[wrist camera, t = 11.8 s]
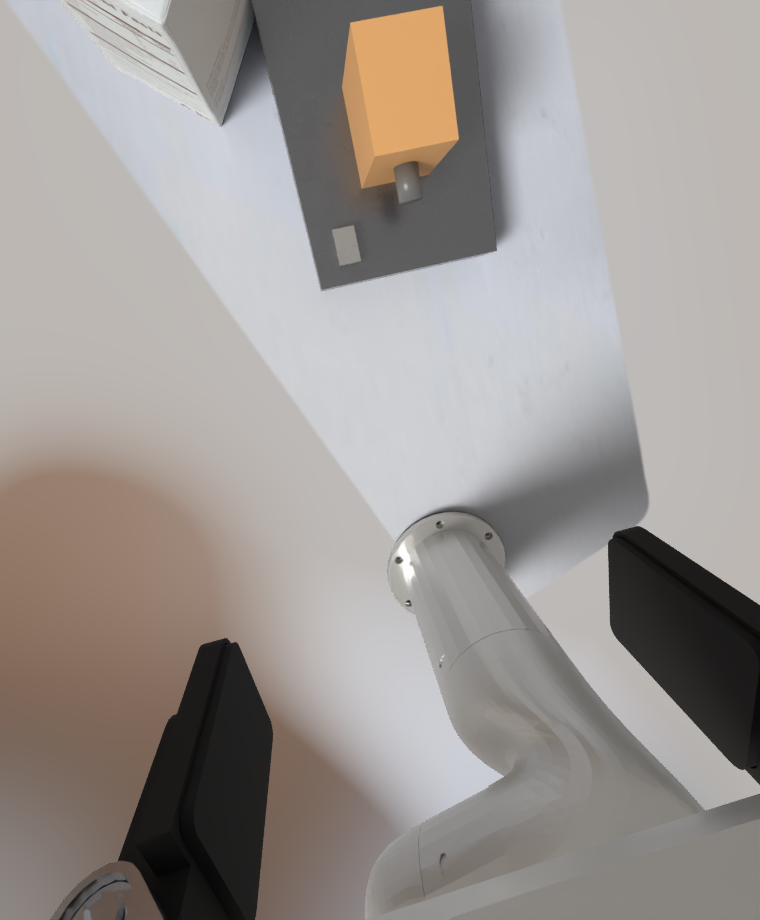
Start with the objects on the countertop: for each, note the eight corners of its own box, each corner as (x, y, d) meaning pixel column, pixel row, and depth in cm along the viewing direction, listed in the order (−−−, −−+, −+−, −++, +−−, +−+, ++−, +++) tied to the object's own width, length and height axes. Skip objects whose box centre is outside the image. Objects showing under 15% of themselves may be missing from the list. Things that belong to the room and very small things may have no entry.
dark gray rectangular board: (482, 255, 37) (500, 249, 33) (321, 291, 36) (322, 289, 32) (450, -23, 30) (469, -67, 27) (253, 13, 29) (245, -28, 26)
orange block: (427, 210, 34) (463, 178, 26) (365, 224, 33) (382, 196, 25) (408, 86, 31) (442, 5, 23) (340, 99, 31) (350, 22, 22)
